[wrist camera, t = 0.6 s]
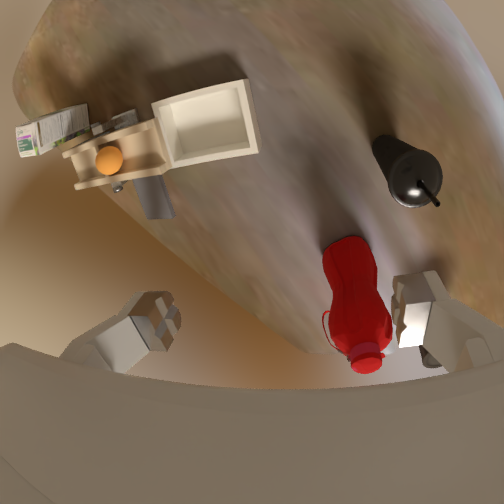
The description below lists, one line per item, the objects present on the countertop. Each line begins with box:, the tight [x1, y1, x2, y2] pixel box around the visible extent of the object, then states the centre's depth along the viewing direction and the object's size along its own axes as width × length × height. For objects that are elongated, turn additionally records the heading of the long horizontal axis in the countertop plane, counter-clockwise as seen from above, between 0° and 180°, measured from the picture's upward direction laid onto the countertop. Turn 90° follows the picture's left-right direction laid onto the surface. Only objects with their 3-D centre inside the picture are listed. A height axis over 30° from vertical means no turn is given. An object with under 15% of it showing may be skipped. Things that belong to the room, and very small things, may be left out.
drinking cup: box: [372, 135, 443, 208], centre depth 33 cm, size 8×8×20 cm
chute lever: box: [62, 117, 176, 219], centre depth 40 cm, size 20×14×8 cm
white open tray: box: [151, 79, 262, 169], centre depth 40 cm, size 11×14×5 cm
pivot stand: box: [90, 108, 140, 193], centre depth 41 cm, size 12×5×10 cm, turn 11°
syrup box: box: [16, 103, 90, 157], centre depth 37 cm, size 6×6×14 cm
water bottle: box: [322, 236, 393, 374], centre depth 44 cm, size 9×11×25 cm
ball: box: [95, 146, 123, 175], centre depth 34 cm, size 4×4×4 cm
